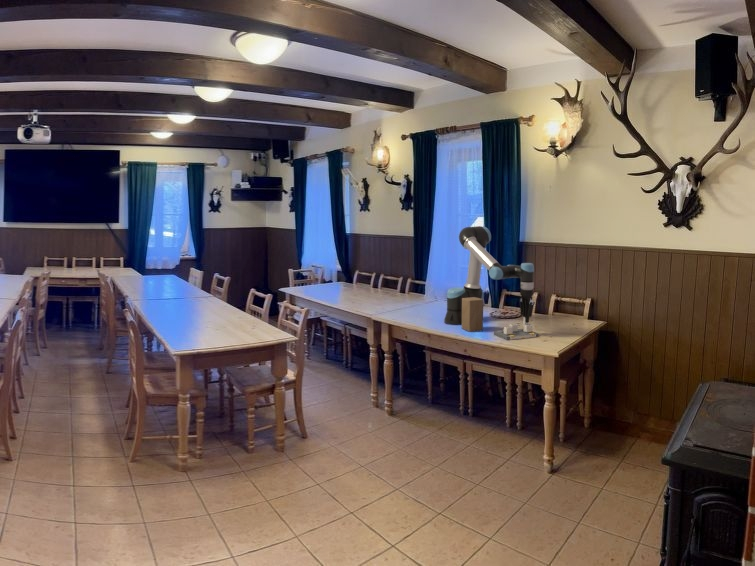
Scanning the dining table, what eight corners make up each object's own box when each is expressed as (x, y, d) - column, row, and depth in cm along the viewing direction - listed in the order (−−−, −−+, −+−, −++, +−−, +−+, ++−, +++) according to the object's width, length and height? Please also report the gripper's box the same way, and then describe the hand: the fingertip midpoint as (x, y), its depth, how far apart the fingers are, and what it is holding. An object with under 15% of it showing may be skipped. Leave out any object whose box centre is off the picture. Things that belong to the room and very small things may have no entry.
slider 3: (523, 331, 310) (523, 324, 309) (529, 330, 311) (529, 323, 310) (526, 332, 307) (526, 325, 306) (532, 331, 308) (532, 324, 308)
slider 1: (503, 333, 305) (503, 326, 304) (509, 332, 306) (509, 325, 306) (506, 334, 302) (506, 327, 301) (512, 333, 303) (512, 326, 303)
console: (493, 334, 312) (493, 331, 311) (524, 331, 319) (524, 328, 319) (507, 340, 298) (507, 336, 298) (538, 336, 306) (538, 333, 305)
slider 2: (509, 330, 312) (509, 323, 311) (514, 329, 313) (515, 323, 312) (512, 331, 309) (512, 324, 308) (517, 331, 310) (517, 324, 310)
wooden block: (461, 328, 329) (461, 298, 326) (474, 327, 332) (475, 296, 329) (469, 332, 320) (469, 300, 317) (483, 330, 323) (483, 299, 320)
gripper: (515, 287, 312) (514, 325, 315) (528, 290, 300) (527, 330, 303) (525, 287, 315) (524, 324, 318) (538, 290, 302) (537, 329, 306)
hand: (525, 327), depth 311 cm, fingers closed
